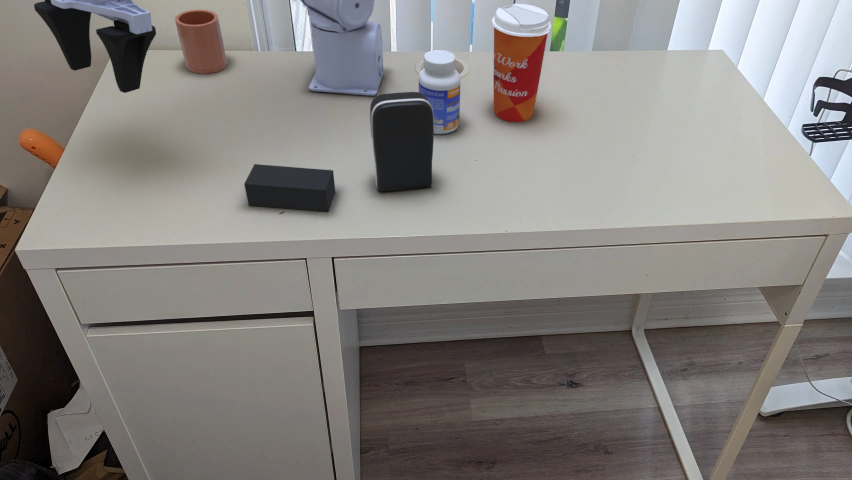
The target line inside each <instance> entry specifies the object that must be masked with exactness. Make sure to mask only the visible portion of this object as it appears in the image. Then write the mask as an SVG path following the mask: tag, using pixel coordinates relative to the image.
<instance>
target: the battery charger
mask: <svg viewBox="0 0 852 480" xmlns="http://www.w3.org/2000/svg"><path fill="white" fill-rule="evenodd" d="M369 117H370V118H369V119H370V120H369V121H370V137H371V142H372V151H373V152H372V153H373V160H374V168H375V169H374V170H375V187H376V189H377V191H379V192H391V191H392V192H393V191H402V190H403V191H404V190H412V189H420V188H426V187H431V186H432V185H433V156H434V139H435V138H434V137H435V136H434V135H435V133H434V115H433V109H432V106H431V104H430V103H429V101H428V99H427V98H426V96H425V95H424V94H422V93H420V92H419V91H401V92H389V93H381V94H378V95H375V96H374V97H373V99H372V100H371V103H370V107H369Z"/></svg>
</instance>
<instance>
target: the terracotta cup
mask: <svg viewBox="0 0 852 480" xmlns="http://www.w3.org/2000/svg"><path fill="white" fill-rule="evenodd" d="M174 21H175V27H176V31H177V35H178V39H179V42H180V47H181V51H182V54H183V60H184V64H185V67H186V69H187V70H188V71H189V72H192V73H194V74H200V75H205V74H207V75H209V74H214V73H218V72H220V71H223V70H224V69H225V68H226V67H227V66H228V61H227V56H226V51H225V46H224V41H223V35H222V30H221V25H220V20H219V15H218V14H217V13H216V12H214V11H211V10H208V9H207V10H206V9H190V10H185V11H183V12H180V13H178V14H177V15H176V16H174Z"/></svg>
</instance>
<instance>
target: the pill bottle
mask: <svg viewBox="0 0 852 480" xmlns="http://www.w3.org/2000/svg"><path fill="white" fill-rule="evenodd" d="M456 62H457V61H456V56H455V54H454V53H453V52H451V51H449V50H443V49H434V50H429V51H426V53H424V55H423V69H421V71H420V72H419V74H418V92H420V93H422V94H424V95H425V96H426V98H427V99H428V101H429V103H430V104H431V106H432V109H433V115H434V135H435V134H436V135H444V134H450V133H452V132H454V131H456V130H457V129H458V128H459V125H460V112H461V110H460V109H461V75H460V73H459V72H458V71H457V69H456V65H457V63H456Z"/></svg>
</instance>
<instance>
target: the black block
mask: <svg viewBox="0 0 852 480" xmlns="http://www.w3.org/2000/svg"><path fill="white" fill-rule="evenodd" d="M243 185H244V190H245V194H246V199H247V205H248V206H251V207H252V206H253V207H261V208H262V207H265V208H275V209H278V208H279V209H289V210H302V211H313V212H314V211H315V212H325V213H326V212H329V210H330V207H331V204H332V202H333V199H334V196H335V193H336V184H335V174H334V170H332V169H321V168H308V167H296V166H284V165H283V166H282V165H270V164H258V163H253V166H252V168H251V170H250V171H249V174H248V175H247V177H246V179H245V182H244V183H243Z"/></svg>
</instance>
